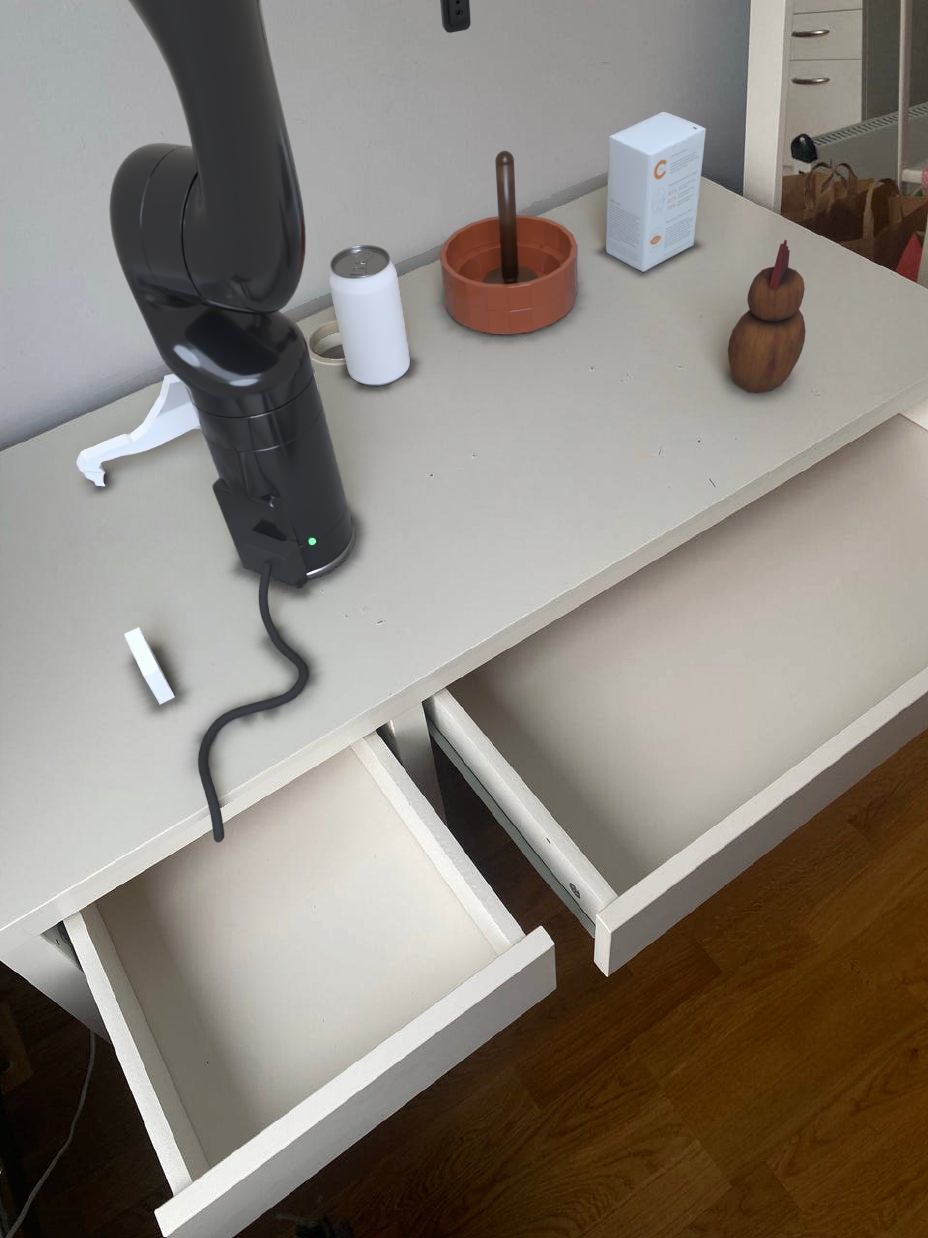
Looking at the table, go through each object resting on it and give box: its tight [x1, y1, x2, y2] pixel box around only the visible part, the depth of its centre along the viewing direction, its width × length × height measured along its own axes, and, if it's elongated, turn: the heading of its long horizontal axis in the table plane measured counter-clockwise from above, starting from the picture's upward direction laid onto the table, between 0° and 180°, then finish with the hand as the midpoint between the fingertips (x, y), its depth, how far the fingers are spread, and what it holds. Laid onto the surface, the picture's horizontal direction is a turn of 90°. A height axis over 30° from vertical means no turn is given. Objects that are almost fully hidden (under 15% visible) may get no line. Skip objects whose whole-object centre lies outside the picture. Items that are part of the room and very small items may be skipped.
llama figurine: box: [75, 373, 201, 487], centre depth 89 cm, size 2×11×18 cm
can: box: [328, 244, 411, 387], centre depth 92 cm, size 6×6×12 cm
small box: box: [605, 111, 707, 273], centre depth 102 cm, size 8×6×13 cm
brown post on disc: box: [483, 150, 538, 284], centre depth 96 cm, size 6×6×15 cm
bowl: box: [439, 214, 579, 335], centre depth 100 cm, size 14×14×6 cm
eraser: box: [123, 627, 176, 705], centre depth 72 cm, size 1×5×4 cm, turn 31°
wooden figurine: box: [727, 239, 807, 394], centre depth 85 cm, size 7×6×15 cm
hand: (443, 13), depth 79 cm, fingers open, 8 cm apart
